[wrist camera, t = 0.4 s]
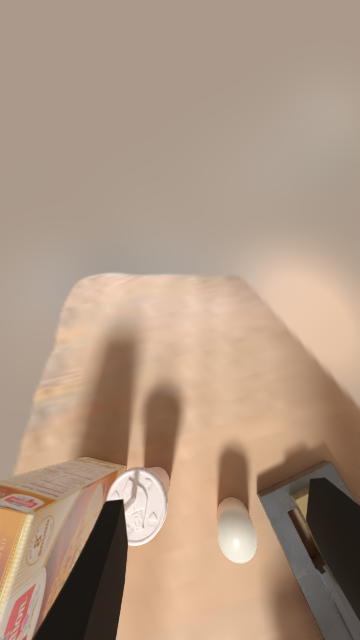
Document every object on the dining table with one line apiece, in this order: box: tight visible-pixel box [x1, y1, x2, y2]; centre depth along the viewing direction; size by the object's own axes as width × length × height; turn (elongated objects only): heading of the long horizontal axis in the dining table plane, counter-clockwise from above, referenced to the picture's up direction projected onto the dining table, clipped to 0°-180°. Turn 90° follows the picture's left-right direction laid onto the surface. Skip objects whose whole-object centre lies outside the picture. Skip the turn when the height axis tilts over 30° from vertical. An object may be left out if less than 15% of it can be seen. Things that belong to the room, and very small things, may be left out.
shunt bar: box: [290, 486, 342, 591], centre depth 26 cm, size 8×3×2 cm, turn 23°
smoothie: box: [106, 467, 170, 546], centre depth 26 cm, size 6×6×14 cm
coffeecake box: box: [0, 457, 126, 640], centre depth 22 cm, size 15×7×20 cm, turn 171°
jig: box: [257, 461, 360, 640], centre depth 26 cm, size 14×10×3 cm
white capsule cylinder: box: [217, 497, 257, 563], centre depth 27 cm, size 4×4×6 cm
